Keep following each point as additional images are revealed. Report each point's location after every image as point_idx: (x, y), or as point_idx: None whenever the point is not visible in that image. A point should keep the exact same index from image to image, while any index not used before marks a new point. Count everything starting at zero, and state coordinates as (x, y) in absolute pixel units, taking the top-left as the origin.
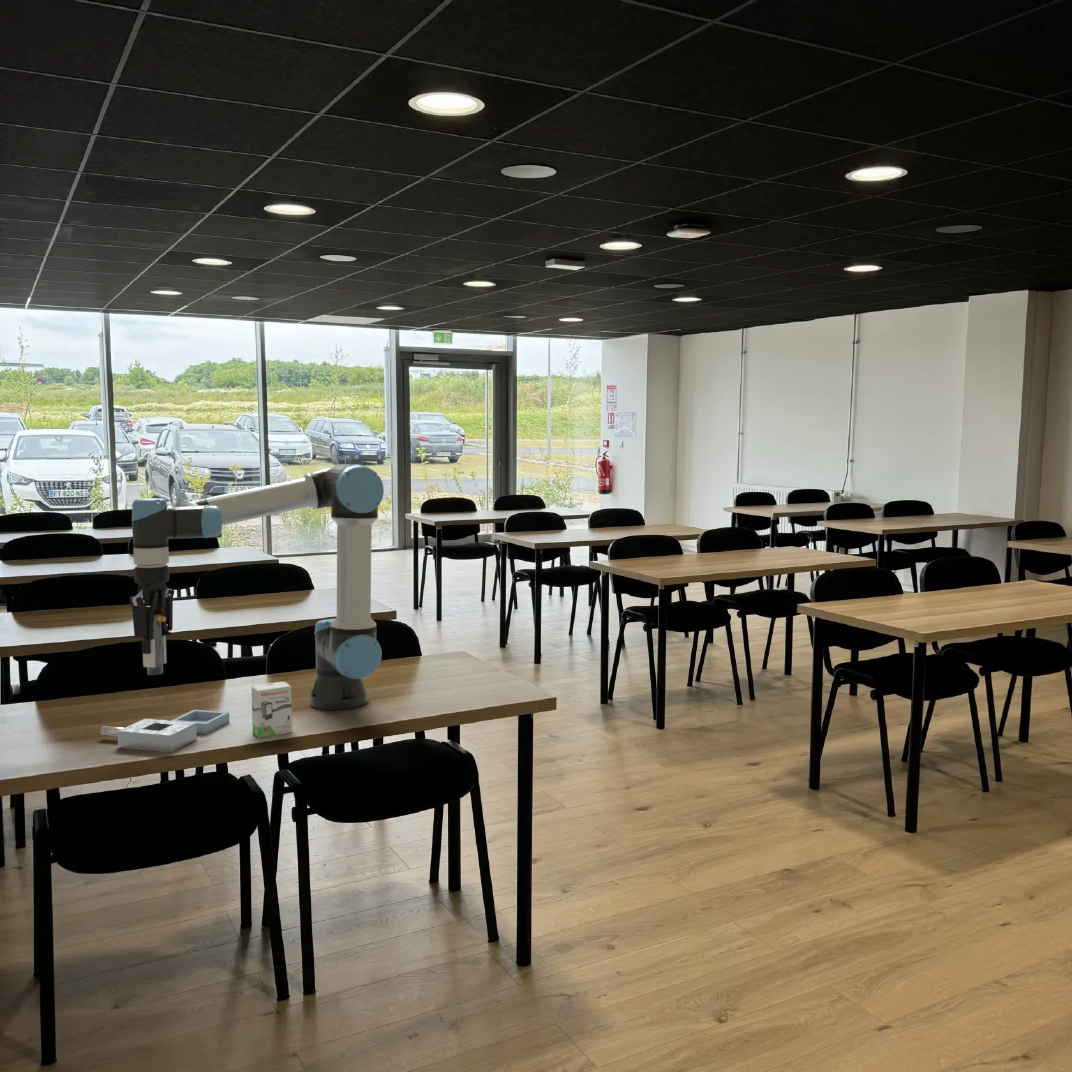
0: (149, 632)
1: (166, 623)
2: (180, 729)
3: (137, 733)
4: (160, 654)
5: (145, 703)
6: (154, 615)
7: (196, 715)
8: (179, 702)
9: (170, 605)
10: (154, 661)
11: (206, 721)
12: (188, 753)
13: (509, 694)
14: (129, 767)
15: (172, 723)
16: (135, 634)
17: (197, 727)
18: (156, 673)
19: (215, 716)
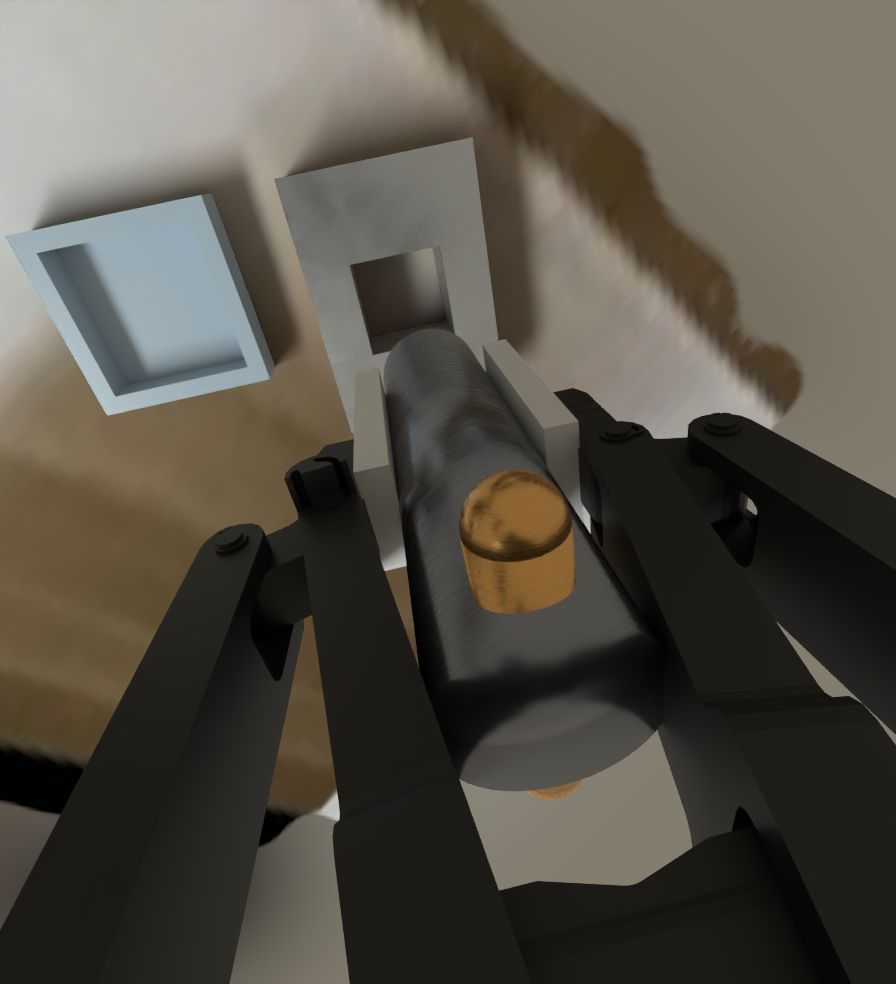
0: (660, 458)
1: (313, 570)
2: (385, 166)
3: (493, 311)
4: (446, 370)
5: (138, 656)
6: (641, 630)
7: (120, 385)
8: (45, 593)
9: (107, 871)
10: (502, 355)
11: (117, 315)
12: (434, 48)
13: None
14: (640, 160)
15: (340, 280)
16: (751, 521)
17: (223, 243)
18: (460, 338)
19: (69, 294)
